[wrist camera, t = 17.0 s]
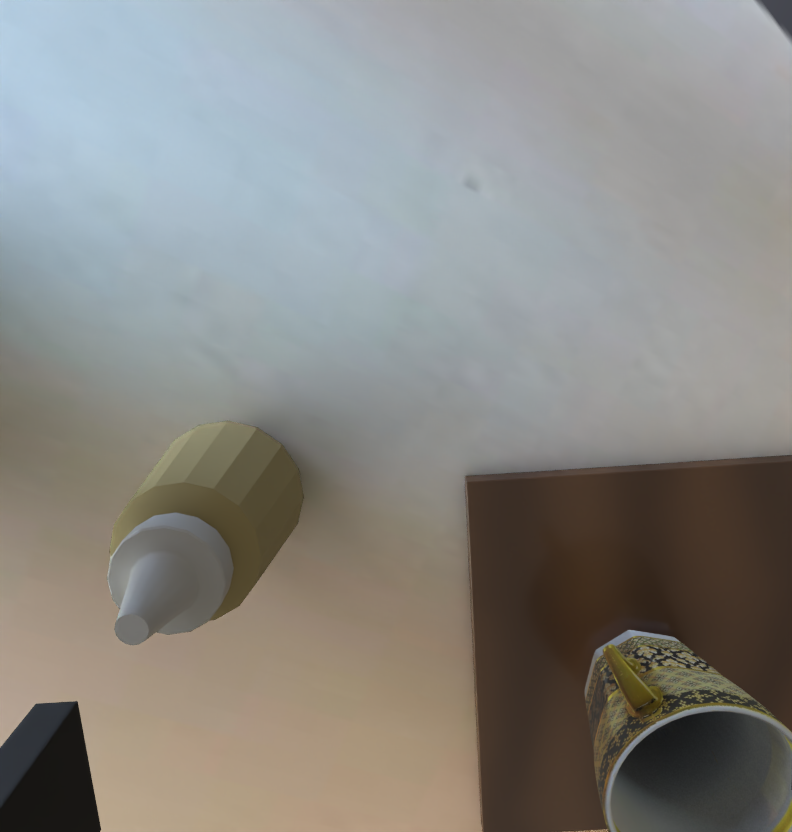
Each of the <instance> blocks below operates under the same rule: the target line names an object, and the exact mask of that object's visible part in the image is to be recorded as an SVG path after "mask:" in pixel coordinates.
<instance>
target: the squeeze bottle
mask: <svg viewBox="0 0 792 832" xmlns="http://www.w3.org/2000/svg"><path fill="white" fill-rule="evenodd" d="M303 498H304V495H303V490H302V485H301V479H300V474H299V469H298V467H297V466H296V464H295V463H294V461H293V460H292V458H291V457H290V455H289V454H288V452H287V451H286V449H285V448H284V446H283V445H282V444H281V443H279V442H278V441H276V440H275V439H273V438H272V437H271V436H269V435H268V434H266V433H265V432H263V431H262V430H260V429H259V428H257V427H253V426H249V425H245V424H240V423H236V422H232V421H222V422H216V423H209V424H203V425H198V426H197V427H195V428H193V429H192V430H190V431H188V432H187V433H185V434H184V435H182V436H180V437H179V438H177V439H175V440H174V441H173V443H172V444H171V445H170V447H169V448H168V449H167V451H166V452H165V454H164V455H163V456H162V458H161V459H160V460H159V462H158V463H157V465H156V466H155V467H154V469H153V470H152V471H151V473H150V474H149V476H148V477H147V478H146V480H145V481H144V482H143V484H142V485H141V486H140V488H139V489H138V491H137V492H136V493H135V495H134V496H133V497H132V499H131V500H130V502H129V503H128V504H127V506H126V507H125V509H124V510H123V512H122V513H121V515H120V516H119V518H118V519H117V521H116V522H115V523H114V527H113V533H112V539H111V545H110V551H109V552H110V556H111V558H110V564H109V570H108V576H107V580H108V584H109V588H110V592H111V596H112V599H113V601H114V602H115V604H116V605H117V606H118V608H119V609H120V611H119V614H118V617H117V620H116V623H115V633H116V636H117V637H118V638H119V639H120V640H121V641H122V642H124V643H125V644H129V645H137V644H140V643H142V642H144V641H145V640H146V639H148V638H149V637H150V636H152V635H153V634H154V633H156V632H157V633H162V634H166V635H171V634H178V633H185V632H191V631H192V630H194V629H196V628H198V627H199V626H201V625H203V624H204V623H206V622H208V621H210V620H216V619H217V618H219V617H221V616H223V615H224V614H226V613H228V612H230V611H231V610H233V609H235V608H236V607H238V606H240V604H241V603H242V602H243V600H244V599H245V598H246V596H247V595H248V594H249V592H250V591H251V589H252V588H253V587H254V585H255V584H256V583H257V581H258V580H259V578H260V577H261V576H262V574H263V573H264V571H265V570H266V568H267V567H268V565H269V564H270V563H271V561H272V560H273V558H274V557H275V555H276V554H277V553H278V551H279V550H280V548H281V547H282V545H283V544H284V543H285V541H286V540H287V538H288V537H289V535H290V534H291V533H292V531H293V530H294V528H295V527H296V525H297V524H298V520H299V516H300V512H301V507H302V503H303Z"/></svg>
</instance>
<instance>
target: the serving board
mask: <svg viewBox="0 0 792 832" xmlns="http://www.w3.org/2000/svg"><path fill="white" fill-rule="evenodd" d="M465 497H466V518H467V539H468V560H469V581H470V601H471V622H472V643H473V664H474V685H475V706H476V726H477V747H478V768H479V789H480V810H481V825H482V831H483V832H564V831H582V830H599V829H607V825H606V822H605V818H604V814H603V810H602V807H601V803H600V798H599V792H598V787H597V780H596V774H595V767H594V750H593V745H592V740H591V734H590V726H589V719H588V713H587V708H586V700H585V686H586V682H587V679H588V675H589V671H590V667H591V663H592V659H593V656H594V653H595V651H596V649H598V648H600V647H601V646H603V645H604V644H606V643H608V642H609V641H611V640H613V639H614V638H616V637H618V636H619V635H621V634H622V633H624V632H626V631H627V630H635V631H641V632H647V633H653V634H660V635H666V636H671V637H675V638H676V639H677V640H679V641H680V642H681V643H683V644H684V645H685V646H687V647H688V648H689V649H690V650H691V651H692V652H694V653H695V654H696V655H697V656H699V657H700V658H701V659H703V660H704V661H705V662H706V663H708V664H709V665H710V666H711V667H713V668H714V669H715V670H716V671H717V672H719V673H720V674H721V675H722V676H723V677H725V678H726V679H728V680H729V681H731V682H732V683H734V684H735V685H737V686H738V687H740V688H741V689H743V690H744V691H745V692H746V693H748V694H749V695H750V696H751V697H753V698H754V699H755V700H756V701H758V702H759V703H760V704H761V705H763V706H764V707H765V708H766V709H767V710H768V711H770V712H771V713H772V714H773V715H774V716H775V717H776V718H777V719H778V720H779V721H781V722H782V723H783V724H784V725H785V726H786V727H787V728H788V729H789V730H790V731H791V732H792V455H786V456H771V457H755V458H740V459H724V460H708V461H693V462H677V463H662V464H646V465H630V466H615V467H599V468H584V469H568V470H553V471H537V472H521V473H506V474H490V475H475V476H465Z"/></svg>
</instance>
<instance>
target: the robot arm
mask: <svg viewBox="0 0 792 832" xmlns="http://www.w3.org/2000/svg"><path fill="white" fill-rule="evenodd" d="M791 790H792V784H791ZM100 830H101V827H100V822H99V816H98V811H97V805H96V800H95V794H94V789H93V783H92V778H91V772H90V767H89V762H88V756H87V751H86V745H85V740H84V734H83V729H82V723H81V718H80V713H79V707H78V702H77V701H75V702H59V703H42V704H35V706H34V707H33V708H32V709H31V711H30V712H29V713H28V714H27V716H26V717H25V718H24V719H23V720H22V722H21V723H20V724H19V725H18V727H17V728H16V729H15V730H14V732H13V733H12V734H11V735H10V737H9V738H8V739H7V740H6V741H5V743H4V744H3V745H2V746H1V748H0V832H100Z"/></svg>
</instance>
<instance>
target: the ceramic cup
mask: <svg viewBox="0 0 792 832" xmlns="http://www.w3.org/2000/svg"><path fill="white" fill-rule="evenodd" d="M585 700H586V708H587V713H588V719H589V726H590V734H591V740H592V745H593V750H594V767H595V774H596V780H597V787H598V792H599V798H600V803H601V807H602V810H603V814H604V818H605V822H606V825H607V829H608V831H609V832H792V790H791V784H792V732H791V731H790V730H789V729H788V728H787V727H786V726H785V725H784V724H783V723H782V722H781V721H779V720H778V719H777V718H776V717H775V716H774V715H773V714H772V713H771V712H770V711H768V710H767V709H766V708H765V707H764V706H763V705H761V704H760V703H759V702H758V701H756V700H755V699H754V698H753V697H751V696H750V695H749V694H748V693H746V692H745V691H744V690H743V689H741V688H740V687H738V686H737V685H735V684H734V683H732V682H731V681H729V680H728V679H726V678H725V677H723V676H722V675H721V674H720V673H719V672H717V671H716V670H715V669H714V668H713V667H711V666H710V665H709V664H708V663H706V662H705V661H704V660H703V659H701V658H700V657H699V656H697V655H696V654H695V653H694V652H692V651H691V650H690V649H689V648H688V647H687V646H685V645H684V644H683V643H681V642H680V641H679V640H677V639H676V638H675V637H671V636H666V635H660V634H653V633H647V632H641V631H635V630H627V631H626V632H624V633H622V634H621V635H619V636H618V637H616V638H614V639H613V640H611V641H609V642H608V643H606V644H604V645H603V646H601V647H600V648H598V649H596V651H595V653H594V656H593V659H592V663H591V667H590V671H589V675H588V679H587V682H586V686H585Z"/></svg>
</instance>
